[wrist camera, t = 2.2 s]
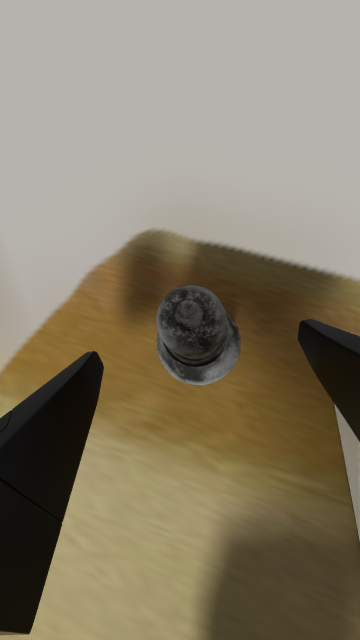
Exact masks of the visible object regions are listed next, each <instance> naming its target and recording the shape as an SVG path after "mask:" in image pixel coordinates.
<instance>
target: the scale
mask: <svg viewBox="0 0 360 640" xmlns="http://www.w3.org/2000/svg"><path fill="white" fill-rule="evenodd" d="M334 405H335V404H334ZM335 411H336V416H337V421H338V427H339V432H340V438H341V443H342V448H343V454H344V459H345V465H346V470H347V476H348V481H349V486H350V492H351V497H352V503H353V508H354V514H355V519H356V524H357V530H358V535H359V541H360V442H359V440H358V439H357V437H356V436H355V434H354V433H353V431H352V430H351V428H350V427H349V425H348V423H347V422H346V420H345V419H344V417H343V416H342V414H341V413H340V411H339V410H338V408H337V407H336V405H335Z"/></svg>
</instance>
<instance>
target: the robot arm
mask: <svg viewBox="0 0 360 640" xmlns="http://www.w3.org/2000/svg"><path fill="white" fill-rule="evenodd" d="M298 341H299V343H300V345H301V347H302V349H303V351H304V353H305V355H306V357H307V359H308V361H309V363H310V365H311V367H312V369H313V371H314V373H315V374H316V376H317V378H318V379H319V381H320V382H321V384H322V385H323V387H324V388H325V390H326V391H327V393H328V394H329V396H330V397H331V399H332V401H333V402H334V404H335V405H336V407H337V408H338V410H339V411H340V413H341V414H342V416H343V417H344V419H345V420H346V422H347V423H348V425H349V427H350V428H351V430H352V431H353V433H354V434H355V436H356V437H357V439H358V440H359V442H360V337H359V336H357V335H354V334H351V333H349V332H346V331H343V330H340V329H338V328H335V327H332V326H329V325H327V324H324V323H321V322H318V321H316V320H313V319H308V320H302V321H301V322H300V324H299V331H298ZM103 370H104V366H103V363H102V361H101V359H100V357H99V355H98V353H97V352H96V351H92V352H87V353H85V354H84V355H82V356H81V357H80V358H79V359H77V360H76V361H75V362H73V363H72V364H71V365H69V366H68V367H67V368H65V369H64V370H63V371H62V372H60V373H59V374H58V375H56V376H55V377H54V378H52V379H51V380H50V381H48V382H47V383H46V384H45V385H43V386H42V387H41V388H39V389H38V390H37V391H35V392H34V393H33V394H32V395H30V396H29V397H28V398H26V399H25V400H24V401H22V402H21V403H20V404H18V405H17V406H16V407H15V408H13V410H11V411H9V412H8V413H7V414H5V415H4V416H3V417H1V418H0V635H28V634H30V631H31V629H32V626H33V623H34V620H35V616H36V613H37V609H38V606H39V602H40V599H41V596H42V592H43V589H44V585H45V582H46V578H47V575H48V571H49V568H50V565H51V561H52V558H53V554H54V551H55V547H56V544H57V541H58V537H59V534H60V530H61V527H62V522H63V519H64V516H65V512H66V509H67V506H68V502H69V499H70V495H71V492H72V488H73V485H74V481H75V478H76V474H77V471H78V468H79V464H80V461H81V457H82V454H83V450H84V447H85V443H86V440H87V437H88V433H89V430H90V426H91V423H92V419H93V416H94V412H95V409H96V406H97V402H98V398H99V393H100V387H101V381H102V376H103Z"/></svg>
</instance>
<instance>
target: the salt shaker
mask: <svg viewBox="0 0 360 640" xmlns="http://www.w3.org/2000/svg"><path fill="white" fill-rule="evenodd" d="M156 323H157V330H158V335H157V350H158V356H159V358H160V360H161V362H162V365H163V366H164V367H165V368H166V370H167V371H168V372H169V373H170V374H171V375H172V376H174V377H175V378H176V379H178V380H180V381H182V382H185V383H187V384H193V385H205V384H210V383H213V382H215V381H217V380H219V379H221V378H223V377H224V376H225V375H226V374H227V373H229V372H230V371H231V369H232V368H233V366H234V365H235V363H236V362H237V359H238V356H239V352H240V335H239V331H238V328H237V326H236V324H235V322H234V321H233V319H232V318H231V317H230V316H229V315H228V314H227V313H226V312H225V309H224V307H223V305H222V303H221V302H220V300H219V299H218V297H217V296H216V295H215V294H214V293H213V292H211V291H209V290H208V289H206V288H204V287H200V286H197V285H186V286H182V287H178V288H176V289H174V290H172V291H171V292H170V293H169V294H167V295H166V296H165V297H164V299H163V300H162V302H161V303H160V305H159V308H158V311H157V318H156Z"/></svg>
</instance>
